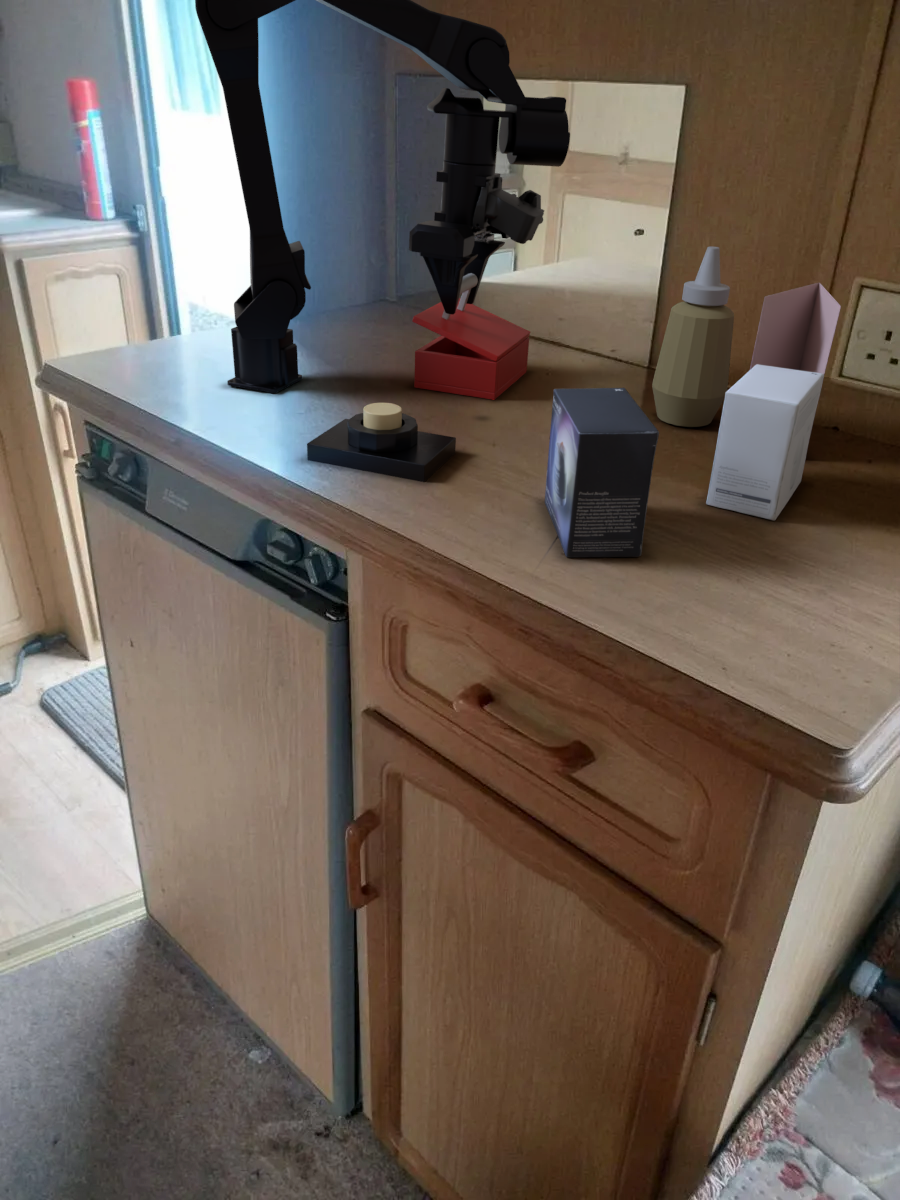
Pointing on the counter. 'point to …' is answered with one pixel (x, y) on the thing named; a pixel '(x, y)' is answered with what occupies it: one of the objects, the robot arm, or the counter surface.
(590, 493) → the small box
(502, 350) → the door
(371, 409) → the button
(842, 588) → the counter surface
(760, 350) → the greeting card
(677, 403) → the squeeze bottle
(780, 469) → the cosmetics box
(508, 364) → the box
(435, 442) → the button housing
